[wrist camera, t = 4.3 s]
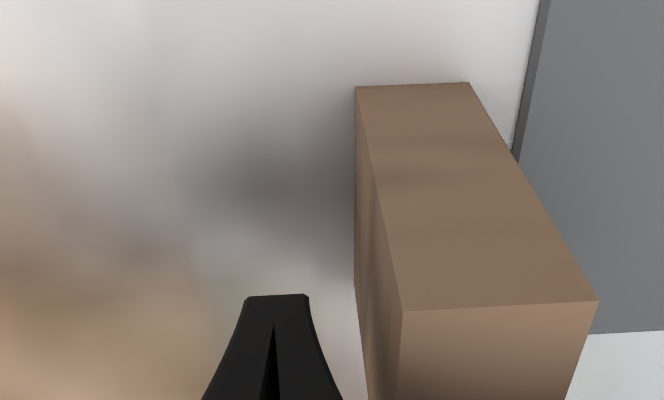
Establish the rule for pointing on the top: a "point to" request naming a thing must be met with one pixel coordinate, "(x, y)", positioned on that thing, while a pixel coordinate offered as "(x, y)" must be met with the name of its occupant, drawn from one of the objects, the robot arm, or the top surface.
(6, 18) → the top surface
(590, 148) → the mat
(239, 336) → the robot arm
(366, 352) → the slab
